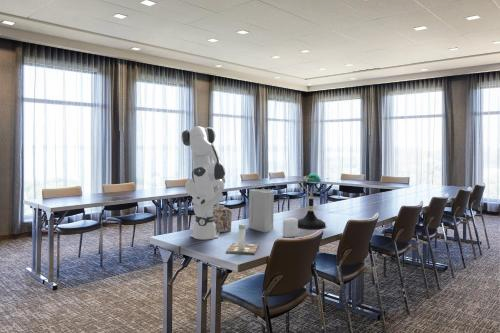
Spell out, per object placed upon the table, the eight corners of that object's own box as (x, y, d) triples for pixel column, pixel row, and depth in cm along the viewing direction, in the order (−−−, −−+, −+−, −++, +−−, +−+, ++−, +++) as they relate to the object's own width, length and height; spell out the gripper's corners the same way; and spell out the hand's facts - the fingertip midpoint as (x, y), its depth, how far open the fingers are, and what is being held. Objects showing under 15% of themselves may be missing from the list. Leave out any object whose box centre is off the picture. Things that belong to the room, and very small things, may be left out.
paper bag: (280, 229, 278) (281, 191, 277) (264, 232, 270) (265, 192, 268) (264, 225, 294) (264, 188, 292) (248, 227, 285) (248, 189, 283)
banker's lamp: (326, 230, 278) (327, 175, 276) (293, 228, 282) (295, 174, 280) (325, 223, 304) (326, 172, 302) (296, 221, 308) (297, 171, 306)
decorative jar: (231, 231, 271) (232, 205, 271) (218, 232, 264) (219, 206, 263) (221, 228, 280) (222, 203, 280) (207, 229, 272) (209, 204, 272)
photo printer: (295, 235, 263) (295, 217, 262) (298, 236, 259) (298, 218, 258) (281, 236, 259) (282, 218, 258) (284, 237, 255) (285, 219, 254)
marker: (239, 248, 222) (239, 224, 221) (245, 248, 221) (245, 224, 220) (237, 249, 218) (238, 225, 217) (244, 250, 218) (244, 225, 217)
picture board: (232, 244, 234) (232, 242, 234) (258, 246, 232) (258, 244, 232) (226, 253, 217) (226, 250, 217) (254, 254, 214) (254, 252, 214)
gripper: (215, 182, 227) (220, 201, 234) (189, 202, 215) (195, 221, 222) (222, 185, 223) (227, 204, 230) (197, 205, 211) (203, 224, 218)
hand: (211, 212), depth 226 cm, fingers open, 8 cm apart
